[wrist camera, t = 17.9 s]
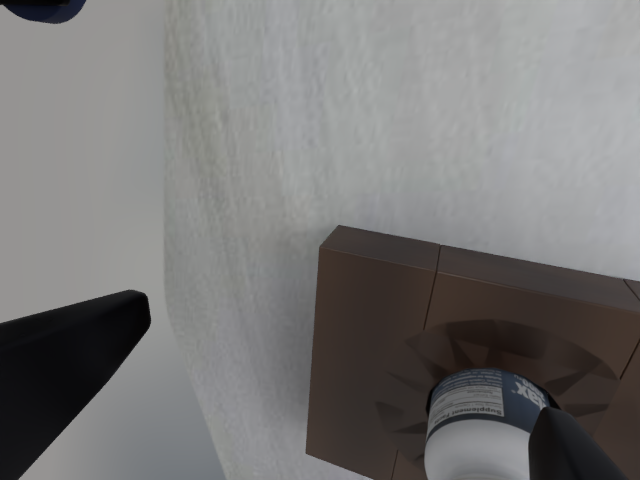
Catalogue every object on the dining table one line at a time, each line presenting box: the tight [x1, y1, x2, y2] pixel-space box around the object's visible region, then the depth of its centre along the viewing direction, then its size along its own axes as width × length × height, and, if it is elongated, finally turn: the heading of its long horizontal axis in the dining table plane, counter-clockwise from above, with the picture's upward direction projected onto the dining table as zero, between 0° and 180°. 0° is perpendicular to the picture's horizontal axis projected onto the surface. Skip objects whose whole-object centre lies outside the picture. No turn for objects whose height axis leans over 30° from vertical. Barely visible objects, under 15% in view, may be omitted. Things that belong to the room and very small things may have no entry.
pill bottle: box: [424, 368, 550, 480], centre depth 16 cm, size 5×5×9 cm
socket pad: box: [306, 225, 640, 480], centre depth 19 cm, size 18×14×3 cm
